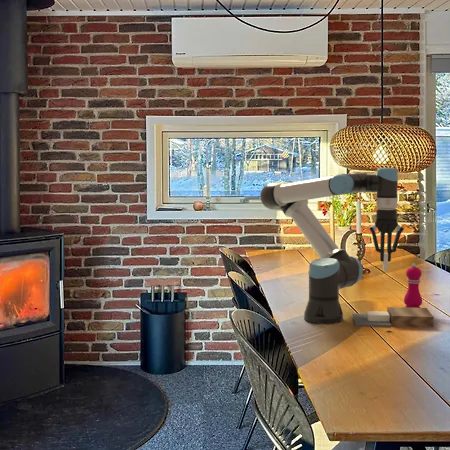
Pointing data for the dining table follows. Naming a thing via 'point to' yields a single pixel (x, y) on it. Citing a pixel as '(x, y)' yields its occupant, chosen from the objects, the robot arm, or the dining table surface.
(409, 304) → the pepper mill
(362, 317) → the charcoal mat
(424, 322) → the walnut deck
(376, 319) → the ceramic tile
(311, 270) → the robot arm
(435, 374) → the dining table surface
